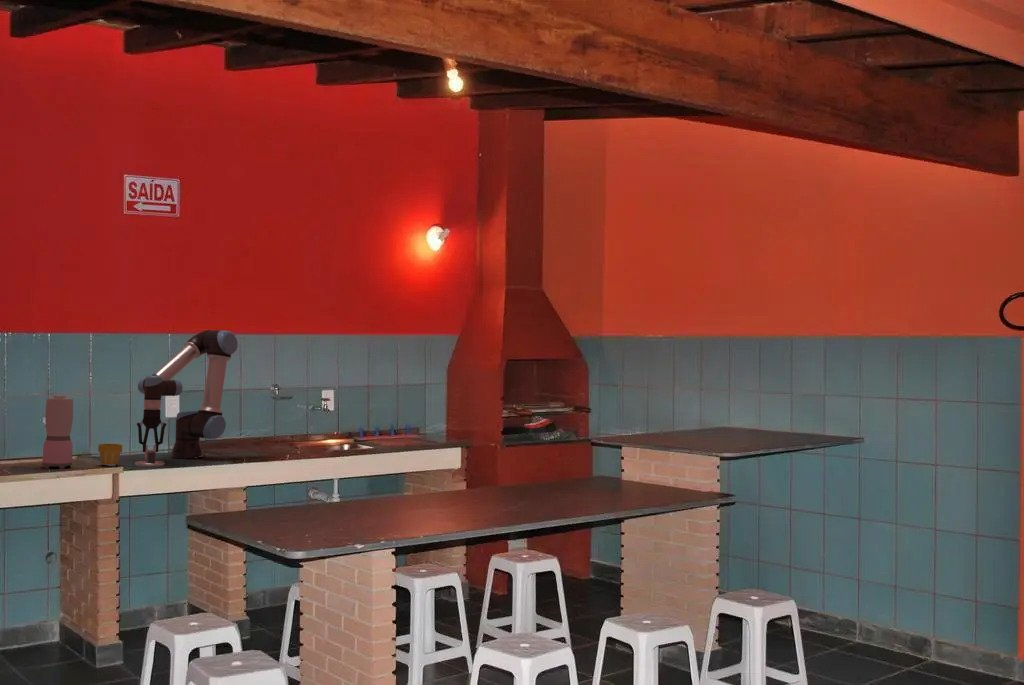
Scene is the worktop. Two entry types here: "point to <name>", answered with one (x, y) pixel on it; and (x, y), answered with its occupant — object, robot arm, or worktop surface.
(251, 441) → the worktop surface
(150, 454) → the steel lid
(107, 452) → the plant pot
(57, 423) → the blender
